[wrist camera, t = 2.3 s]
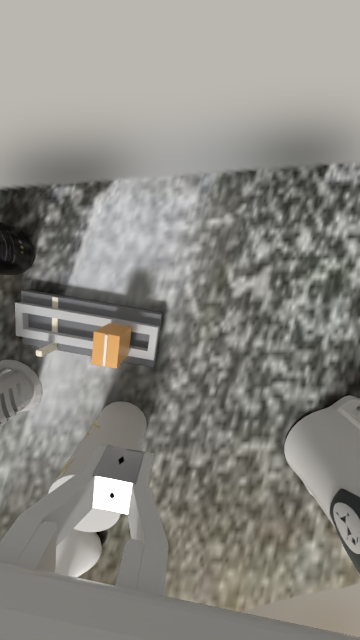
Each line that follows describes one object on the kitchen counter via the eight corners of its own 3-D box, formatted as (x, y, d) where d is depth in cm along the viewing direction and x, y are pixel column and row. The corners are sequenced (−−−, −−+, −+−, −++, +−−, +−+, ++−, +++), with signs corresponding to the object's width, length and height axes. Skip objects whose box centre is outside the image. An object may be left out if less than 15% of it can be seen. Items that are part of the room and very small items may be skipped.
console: (162, 312, 28) (157, 319, 23) (155, 362, 29) (148, 377, 25) (30, 289, 28) (-1, 292, 24) (31, 340, 30) (2, 351, 25)
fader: (134, 324, 26) (119, 336, 21) (131, 351, 27) (116, 369, 22) (113, 320, 26) (93, 331, 21) (110, 347, 27) (91, 364, 22)
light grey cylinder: (101, 397, 31) (48, 467, 20) (149, 406, 31) (124, 483, 20) (97, 437, 33) (46, 523, 22) (143, 446, 33) (116, 538, 21)
